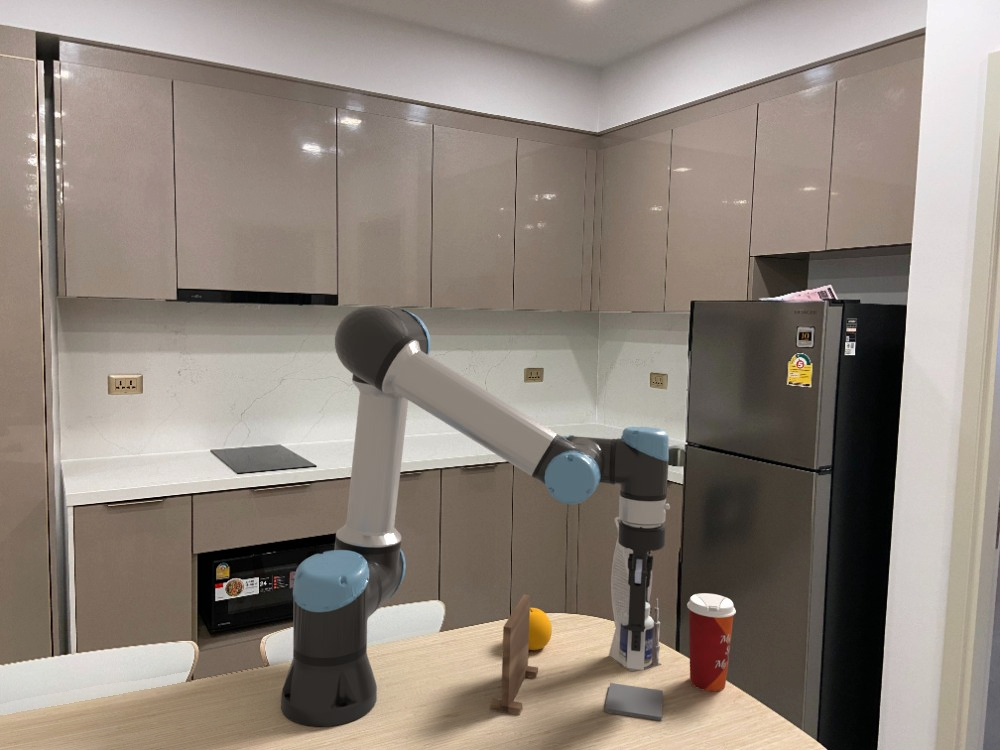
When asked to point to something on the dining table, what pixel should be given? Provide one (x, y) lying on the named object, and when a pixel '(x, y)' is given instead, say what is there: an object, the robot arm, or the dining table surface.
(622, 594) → the skyscraper
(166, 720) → the dining table surface
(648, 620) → the pill bottle
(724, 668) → the coffee cup
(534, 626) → the orange
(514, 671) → the screen
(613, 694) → the coaster
